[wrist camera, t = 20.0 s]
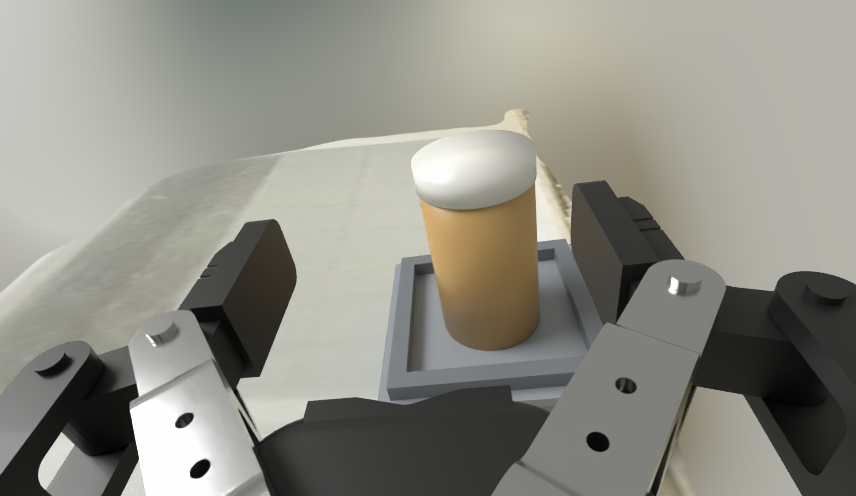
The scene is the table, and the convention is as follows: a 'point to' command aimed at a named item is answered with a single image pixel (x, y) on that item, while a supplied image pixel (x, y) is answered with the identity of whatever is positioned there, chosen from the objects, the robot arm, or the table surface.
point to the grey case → (468, 368)
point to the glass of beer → (482, 234)
